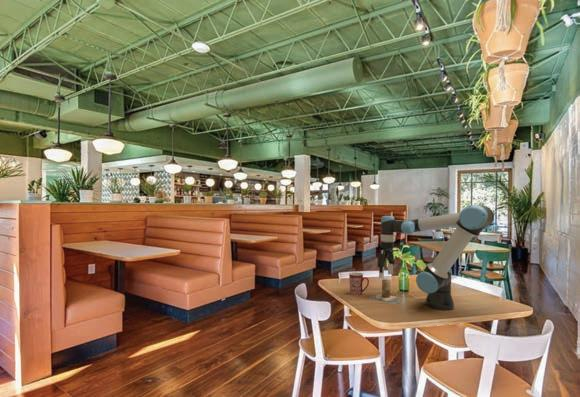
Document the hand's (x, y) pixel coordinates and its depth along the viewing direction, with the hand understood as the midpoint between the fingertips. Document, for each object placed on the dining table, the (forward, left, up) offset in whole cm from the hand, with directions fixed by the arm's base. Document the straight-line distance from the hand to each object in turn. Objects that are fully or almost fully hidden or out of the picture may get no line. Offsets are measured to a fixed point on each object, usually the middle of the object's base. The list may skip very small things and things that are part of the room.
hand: (385, 276), depth 196 cm
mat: (0, 0, -14) cm, 14 cm away
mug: (+16, +4, -14) cm, 22 cm away
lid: (0, 0, -14) cm, 14 cm away
